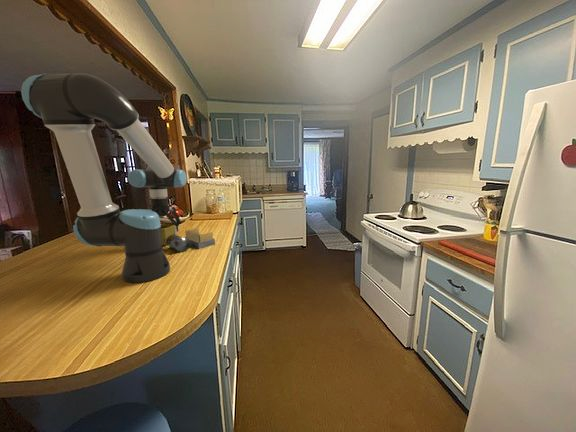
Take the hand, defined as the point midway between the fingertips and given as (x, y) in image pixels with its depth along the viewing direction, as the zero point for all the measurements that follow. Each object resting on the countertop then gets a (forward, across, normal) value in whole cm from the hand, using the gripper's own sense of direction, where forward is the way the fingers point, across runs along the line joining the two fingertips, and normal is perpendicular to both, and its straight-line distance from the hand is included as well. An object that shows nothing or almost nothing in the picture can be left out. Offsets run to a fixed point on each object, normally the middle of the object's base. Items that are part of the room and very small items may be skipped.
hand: (163, 240), depth 118 cm
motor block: (+2, -7, +13) cm, 15 cm away
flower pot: (+2, 0, 0) cm, 2 cm away
